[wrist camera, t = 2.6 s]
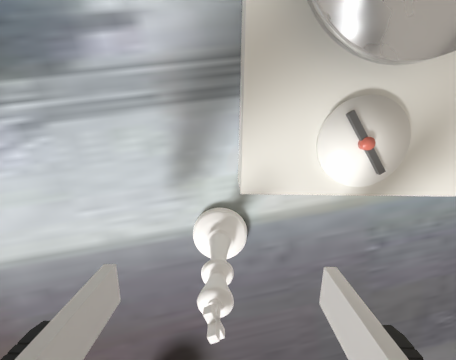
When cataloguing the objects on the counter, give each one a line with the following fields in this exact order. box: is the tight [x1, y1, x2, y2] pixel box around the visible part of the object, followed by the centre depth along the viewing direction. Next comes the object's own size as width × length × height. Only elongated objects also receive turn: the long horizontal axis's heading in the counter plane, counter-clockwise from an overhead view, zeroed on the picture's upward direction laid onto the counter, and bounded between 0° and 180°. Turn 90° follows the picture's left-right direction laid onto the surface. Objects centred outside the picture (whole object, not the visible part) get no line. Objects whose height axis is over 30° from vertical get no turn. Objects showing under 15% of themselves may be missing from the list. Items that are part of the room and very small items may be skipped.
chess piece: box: [193, 207, 247, 344], centre depth 14 cm, size 5×5×10 cm
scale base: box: [238, 0, 456, 196], centre depth 13 cm, size 20×15×5 cm
